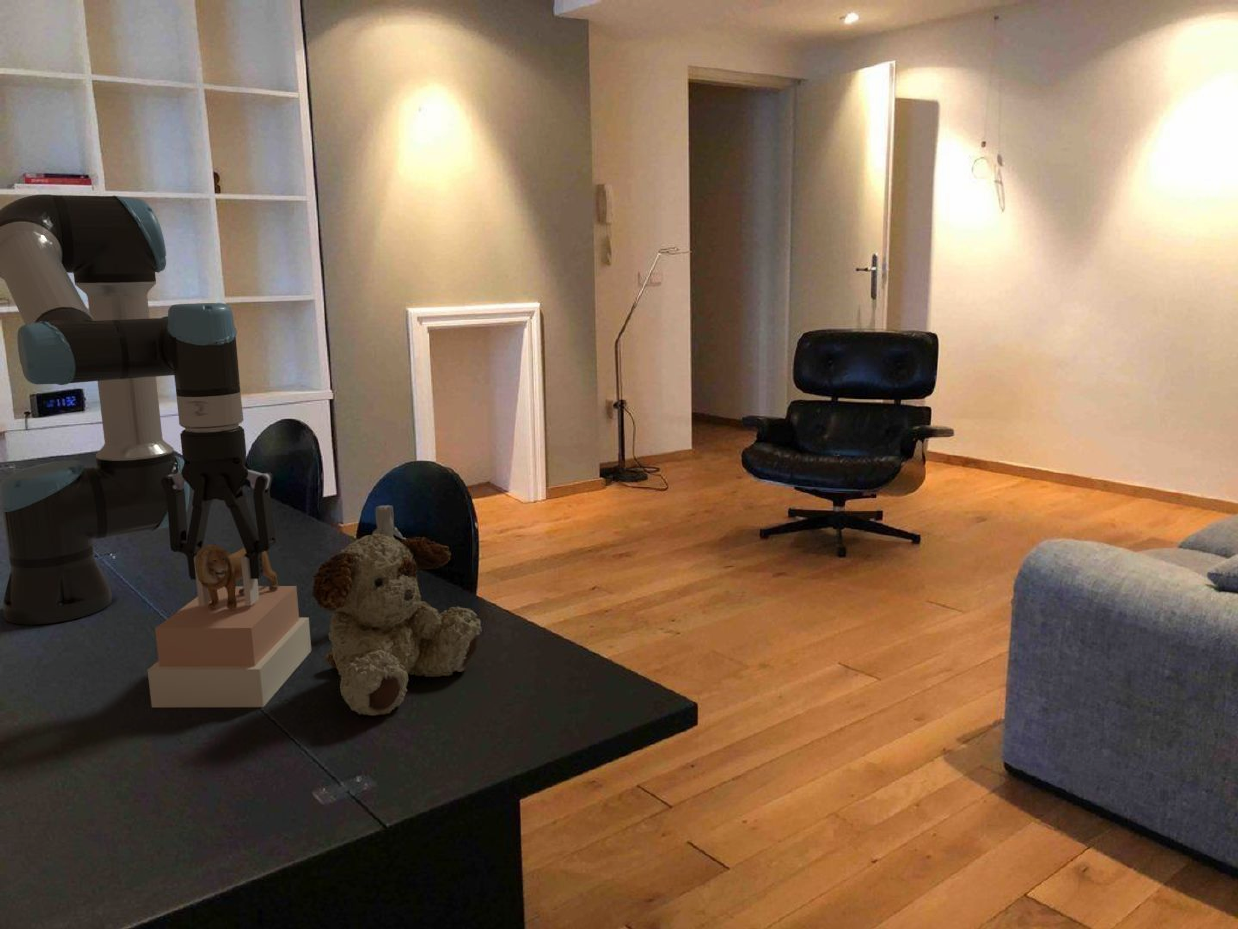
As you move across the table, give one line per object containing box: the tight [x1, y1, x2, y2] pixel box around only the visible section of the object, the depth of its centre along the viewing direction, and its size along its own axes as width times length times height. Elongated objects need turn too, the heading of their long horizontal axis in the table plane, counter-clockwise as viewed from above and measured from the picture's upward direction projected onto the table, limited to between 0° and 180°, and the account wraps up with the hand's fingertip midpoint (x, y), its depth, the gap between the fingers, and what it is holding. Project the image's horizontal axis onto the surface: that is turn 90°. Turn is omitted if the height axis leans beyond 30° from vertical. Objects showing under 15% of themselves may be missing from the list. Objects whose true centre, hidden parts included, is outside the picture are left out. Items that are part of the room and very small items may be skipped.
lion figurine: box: [195, 543, 279, 609], centre depth 129 cm, size 15×5×9 cm, turn 168°
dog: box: [311, 534, 483, 716], centre depth 127 cm, size 23×19×20 cm
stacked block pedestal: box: [147, 585, 312, 708], centre depth 129 cm, size 14×18×10 cm
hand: (229, 601), depth 128 cm, fingers open, 5 cm apart
